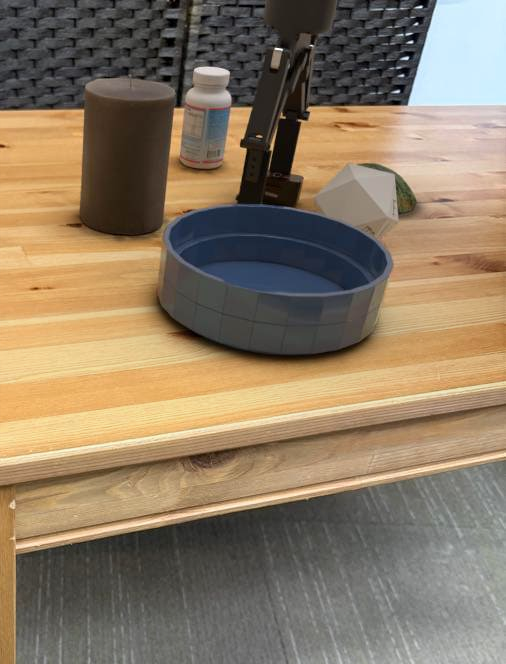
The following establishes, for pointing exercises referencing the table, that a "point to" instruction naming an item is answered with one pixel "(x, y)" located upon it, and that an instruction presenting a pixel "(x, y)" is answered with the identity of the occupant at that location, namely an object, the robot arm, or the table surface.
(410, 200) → the seashell
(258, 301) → the bowl
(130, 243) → the table surface
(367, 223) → the die
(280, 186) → the wireless earbuds
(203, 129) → the pill bottle
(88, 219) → the pillar candle
